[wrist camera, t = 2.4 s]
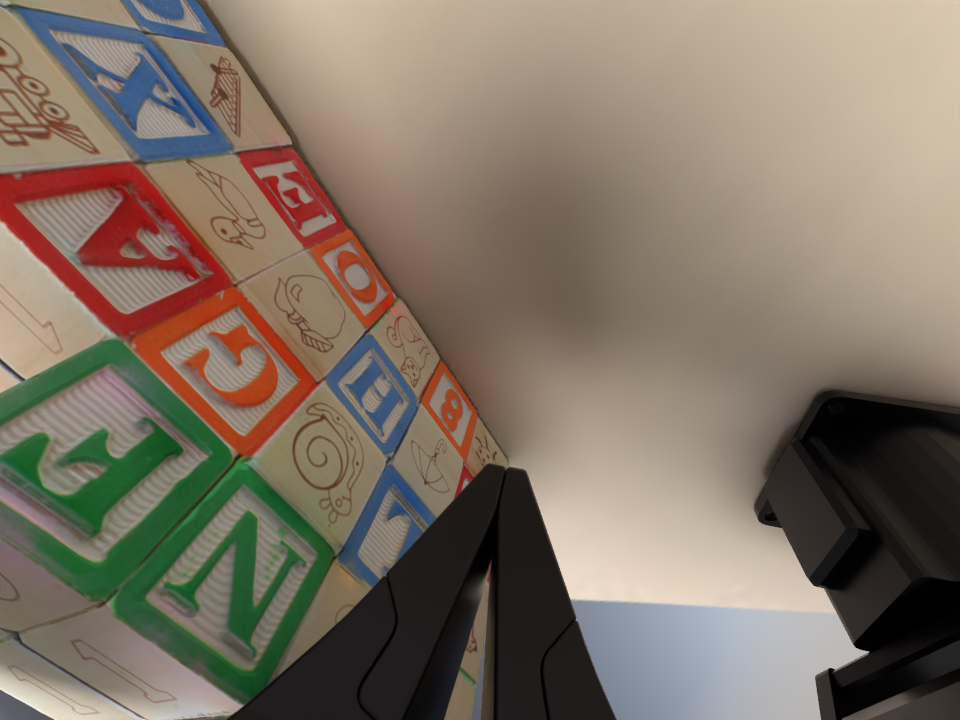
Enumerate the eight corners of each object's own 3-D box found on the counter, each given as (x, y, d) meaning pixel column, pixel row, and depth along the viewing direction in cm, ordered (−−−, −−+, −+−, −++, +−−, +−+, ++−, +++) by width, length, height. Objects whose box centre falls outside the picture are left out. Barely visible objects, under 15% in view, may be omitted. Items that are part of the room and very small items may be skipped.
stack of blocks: (55, 71, 14) (-1328, -56, 4) (157, -68, 12) (-2708, -1376, 2) (407, 497, 22) (261, 849, 11) (514, 464, 20) (455, 871, 9)
